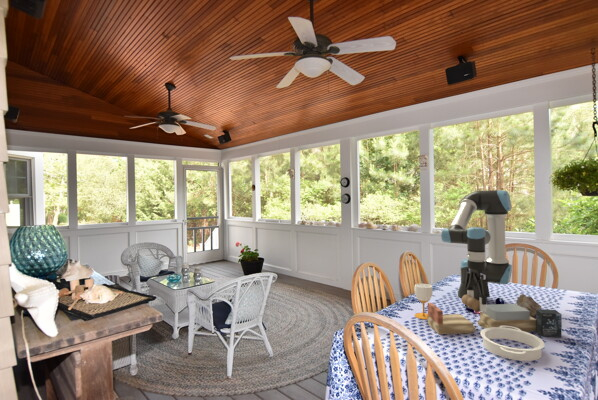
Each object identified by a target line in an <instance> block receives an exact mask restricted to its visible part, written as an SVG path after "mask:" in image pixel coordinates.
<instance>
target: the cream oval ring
mask: <svg viewBox="0 0 598 400" xmlns="http://www.w3.org/2000/svg"><path fill="white" fill-rule="evenodd" d="M505 327H511V328H505ZM512 328H515V329H512ZM517 329H518V330H517ZM480 336H481V338H482V345H483V348H485V350H487V351H488V352H490V353H492V354H494V355H495V356H498V357H501V358H504V359H505V358H506V359H510V360H514V361H522V362H531V361H532V362H533V361H537V360H539V359H541V358H542V356H543V355H542V353H543V352H542V349H544V348H545V346H546V345H545V341H543V339H542V338H540V337H539V336H537V335H534V334H532V333H530V332H529V331H521V330H520V329H519V328H516V327H512V326H505V325H502V326H499V327H490V328H485V329H484V328H483V329H481V330H480ZM496 339H497V340H498V339H500V340H501V339H502V340H510V341H516V342H519V343H522V344H525V345H527V346H530V347H532V348H518V347H517V348H516V347H512V346H507V345H503V344H500V343H497V342H494V341H492V340H496Z"/></svg>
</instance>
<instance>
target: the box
mask: <svg viewBox="0 0 598 400" xmlns="http://www.w3.org/2000/svg"><path fill="white" fill-rule="evenodd" d="M562 316H563V315H562V313H560V312H559V311H557V309H544V308H543V309H542V308H541V309H536V315H535V319H536V331H535V332H536V333H537V334H538V335H539V336H540V337H550V338H562V330H563V329H562Z"/></svg>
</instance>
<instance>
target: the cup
mask: <svg viewBox="0 0 598 400" xmlns="http://www.w3.org/2000/svg"><path fill="white" fill-rule="evenodd" d="M433 291H434V290H433V286H432V285H431V284H429V283H416V284H414V294H415V297H416V299H417V301H419V303H421V304H422V312H417V313H414V317H415V318H417V319H418V320H419V319H420V320H427V321H428V312H427V313H426V312H425V311H426V310H425V303H429V302H430V300H431V299H432V296H433V293H434V292H433Z"/></svg>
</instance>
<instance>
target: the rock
mask: <svg viewBox="0 0 598 400" xmlns="http://www.w3.org/2000/svg"><path fill="white" fill-rule="evenodd" d="M516 305H518V306H521V307H523V308H525V309H527V310H529V311H530V317H532V318H533V317H536V309H542V305H540V304H539V303H538V302H537V301H535V300H534V298H533V297H532V296H527V295H525V294H524V293H523V294H520V295H518V296H517V299H516Z"/></svg>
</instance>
